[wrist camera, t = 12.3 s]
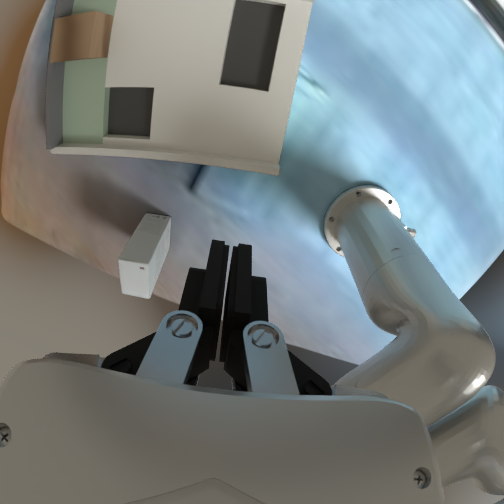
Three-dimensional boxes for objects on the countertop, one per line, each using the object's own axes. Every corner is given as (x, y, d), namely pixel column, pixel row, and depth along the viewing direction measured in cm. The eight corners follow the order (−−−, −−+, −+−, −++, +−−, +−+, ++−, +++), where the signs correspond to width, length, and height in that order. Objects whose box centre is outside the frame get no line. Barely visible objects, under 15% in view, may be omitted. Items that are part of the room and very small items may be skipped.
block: (113, 15, 25) (96, 11, 21) (107, 57, 28) (89, 57, 24) (75, 21, 25) (55, 18, 20) (70, 61, 28) (49, 62, 24)
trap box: (310, -1, 26) (318, -10, 22) (276, 166, 40) (279, 178, 36) (77, -5, 23) (58, -10, 19) (64, 145, 37) (47, 156, 33)
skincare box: (145, 211, 44) (116, 257, 34) (171, 216, 44) (149, 263, 34) (145, 244, 47) (120, 294, 37) (170, 249, 47) (150, 300, 37)
